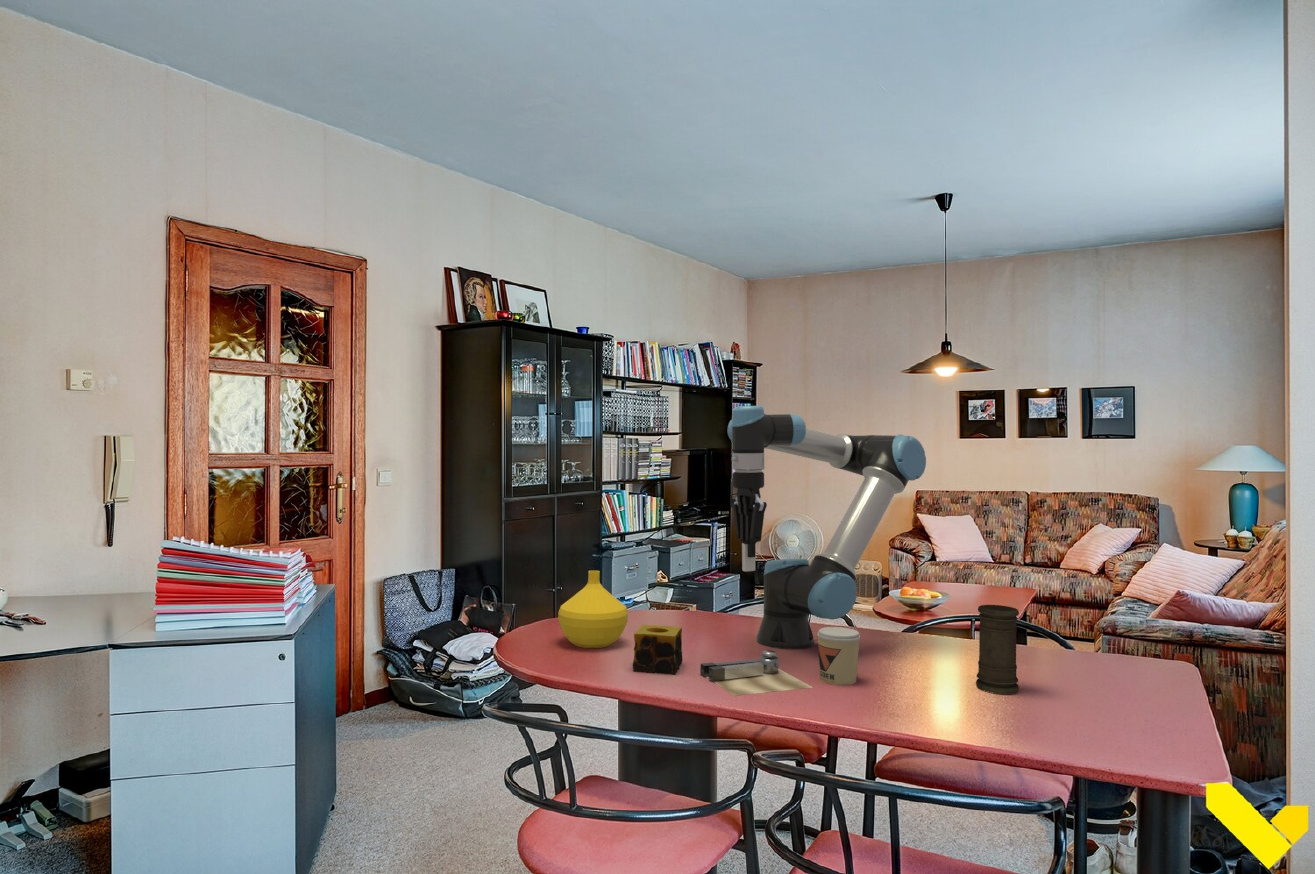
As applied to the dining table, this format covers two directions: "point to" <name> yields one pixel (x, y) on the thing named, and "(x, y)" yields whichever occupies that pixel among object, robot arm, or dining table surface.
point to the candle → (657, 649)
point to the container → (997, 649)
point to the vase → (593, 616)
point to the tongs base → (769, 663)
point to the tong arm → (739, 669)
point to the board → (761, 684)
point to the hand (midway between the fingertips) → (748, 570)
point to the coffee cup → (838, 655)
